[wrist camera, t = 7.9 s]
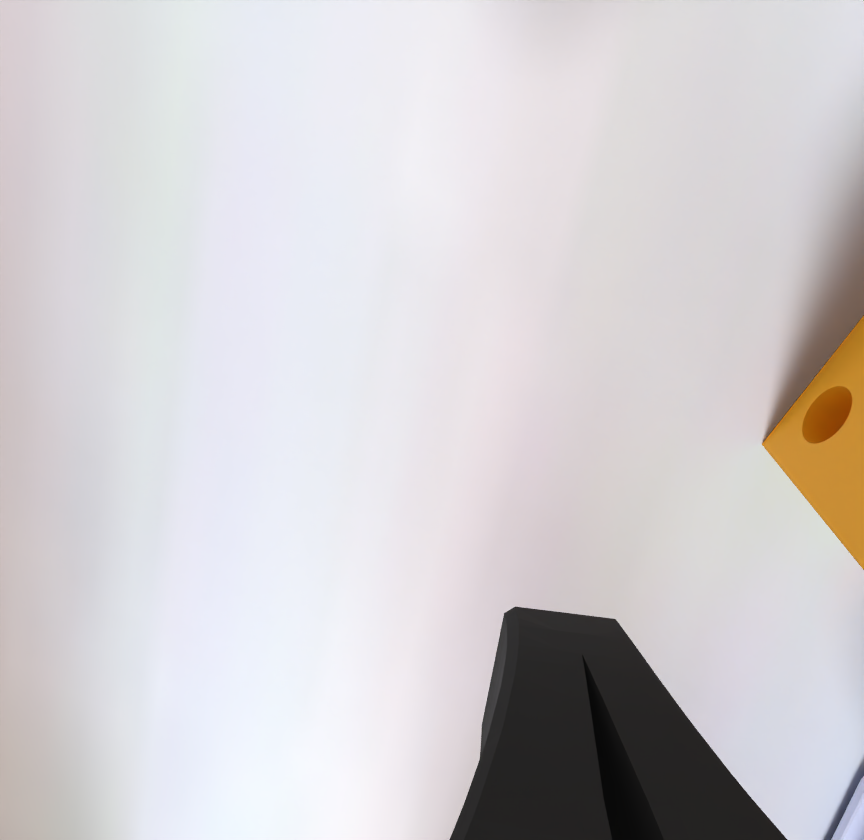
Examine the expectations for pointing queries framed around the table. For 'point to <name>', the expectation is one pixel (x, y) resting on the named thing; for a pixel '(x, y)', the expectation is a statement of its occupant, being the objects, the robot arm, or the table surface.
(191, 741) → the table surface
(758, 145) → the table surface
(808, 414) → the orange notched block
